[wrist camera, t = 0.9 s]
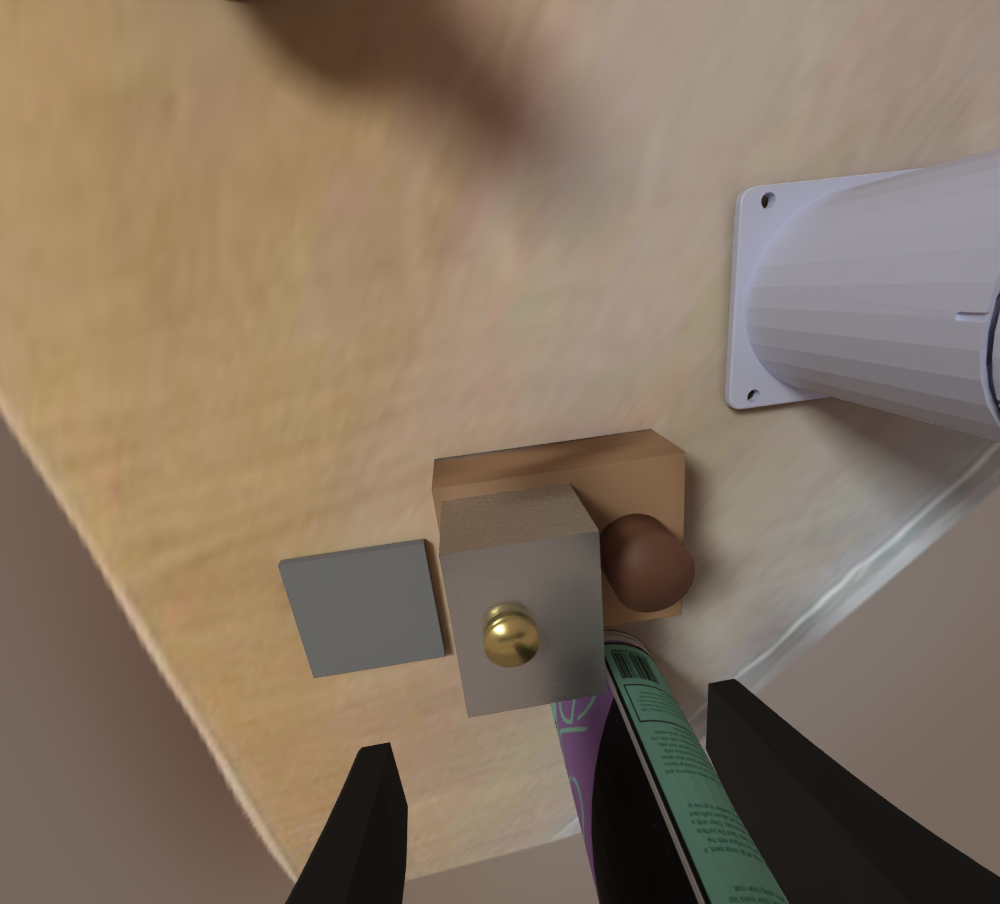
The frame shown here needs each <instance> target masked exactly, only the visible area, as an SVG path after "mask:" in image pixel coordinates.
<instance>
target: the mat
mask: <svg viewBox="0 0 1000 904" xmlns="http://www.w3.org/2000/svg"><path fill="white" fill-rule="evenodd" d="M278 567H279V570H280V573H281V577H282V580H283V583H284V586H285V589H286V592H287V595H288V599H289V602H290V605H291V608H292V611H293V614H294V617H295V621H296V624H297V627H298V630H299V633H300V636H301V639H302V643H303V646H304V649H305V652H306V655H307V658H308V661H309V665H310V668H311V671H312V674H313V677H314V678H317V677H323V676H329V675H335V674H341V673H347V672H354V671H360V670H366V669H372V668H378V667H384V666H390V665H396V664H402V663H408V662H414V661H420V660H426V659H432V658H438V657H444V656H445V646H444V641H443V636H442V630H441V625H440V620H439V615H438V609H437V604H436V599H435V593H434V588H433V583H432V578H431V572H430V567H429V562H428V557H427V551H426V546H425V541H424V539H419V540H413V541H406V542H399V543H393V544H386V545H379V546H373V547H366V548H359V549H353V550H346V551H339V552H333V553H326V554H319V555H313V556H306V557H299V558H293V559H286V560H281V561H280V563H279V565H278Z"/></svg>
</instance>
